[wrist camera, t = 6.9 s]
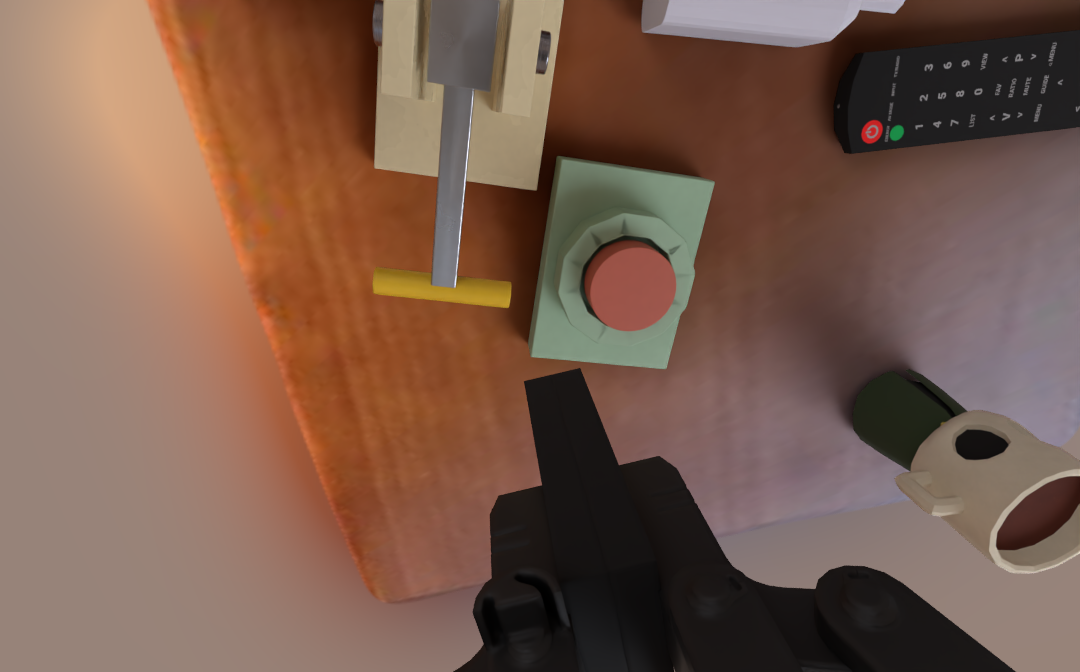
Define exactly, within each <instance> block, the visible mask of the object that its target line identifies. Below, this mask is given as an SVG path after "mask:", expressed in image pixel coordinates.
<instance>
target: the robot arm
mask: <svg viewBox="0 0 1080 672" xmlns="http://www.w3.org/2000/svg"><path fill="white" fill-rule="evenodd" d="M524 384H525V389H526V395H527V401H528V407H529V412H530V418H531V424H532V430H533V435H534V441H535V447H536V453H537V458H538V464H539V470H540V476H541V481H542V486H537V487H533V488H529V489H525V490H521V491H516V492H512V493H508V494H504V495H500V496H498V498H497V500H496V503H495V505H494V507H493V509H492V511H491V513H490V534H491V553H492V554H491V567H492V578H491V579H490V580H489V581H488V582H486V583H485V584H484V586H483V587H482V589H481V591H480V592H479V594H478V595H477V597H476V600H475V604H474V609H473V615H474V618H475V620H476V623H477V626H478V629H479V632H480V634H481V637H482V640H483V643H484V645H483V646H482V648H481V649H480V650H479V652H478V653H477V654H476V655H475V656H474V657H473V658H472V659H471V660H470V661H468V662H467V663H466V664H464V665H463V666H462V667H460V668H459V669H457V670H455V671H454V672H674V669H675V672H1015V671H1014V670H1013V669H1012V668H1010V667H1009V666H1008V665H1006V664H1005V663H1004V662H1002V661H1001V660H1000V659H999V658H998V657H996V656H995V655H994V654H992V653H991V652H990V651H988V650H987V649H986V648H985V647H983V646H982V645H981V644H979V643H978V642H977V641H976V640H974V639H973V638H972V637H971V636H969V635H968V634H967V633H966V632H964V631H963V630H962V629H960V628H959V627H958V626H956V625H955V624H954V623H953V622H952V621H950V620H949V619H948V618H946V617H945V616H944V615H943V614H941V613H940V612H939V611H937V610H936V609H935V608H933V607H932V606H931V605H930V604H929V603H927V602H926V601H925V600H923V599H922V598H921V597H920V596H918V595H917V594H916V593H914V592H913V591H912V590H911V589H909V588H908V587H907V586H905V585H904V584H903V583H901V582H900V581H898V580H896V579H895V578H893V577H891V576H890V575H888V574H886V573H884V572H881V571H878V570H874V569H871V568H868V567H865V566H842V567H839V568H835V569H831V570H829V571H828V572H827V573H825V574H824V575H823V576H822V577H821V578H820V579H818V583H817V586H816V589H802V588H783V587H775V586H769V585H765V584H762V583H759V582H756V581H754V580H752V579H750V578H748V577H746V576H745V575H744V574H743V573H742V572H741V571H739V570H737V569H735V568H734V567H733V566H732V565H731V563H730V562H729V561H728V559H727V558H726V556H725V555H724V553H723V551H722V549H721V547H720V546H719V544H718V542H717V540H716V538H715V537H714V535H713V533H712V531H711V529H710V528H709V526H708V524H707V522H706V520H705V519H704V517H703V515H702V513H701V511H700V510H699V508H698V506H697V504H696V503H695V502H694V499H693V497H692V495H691V493H690V492H689V490H688V489H687V487H686V484H685V483H684V481H683V479H682V477H681V475H680V474H679V472H678V470H677V468H675V467H674V466H673V465H671V464H670V463H668V462H667V461H666V460H664V459H663V458H661V457H660V456H657V457H652V458H648V459H644V460H640V461H636V462H631V463H627V464H623V465H618V462H617V460H616V457H615V455H614V452H613V449H612V447H611V444H610V442H609V439H608V437H607V434H606V432H605V429H604V427H603V424H602V422H601V419H600V417H599V414H598V412H597V409H596V407H595V404H594V402H593V399H592V397H591V394H590V392H589V389H588V387H587V384H586V382H585V379H584V377H583V374H582V372H581V369H580V368H579V369H574V370H570V371H566V372H562V373H557V374H553V375H549V376H544V377H540V378H536V379H532V380H527V381H524ZM673 666H674V668H673Z"/></svg>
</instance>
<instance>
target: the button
mask: <svg viewBox="0 0 1080 672" xmlns="http://www.w3.org/2000/svg"><path fill="white" fill-rule="evenodd" d="M584 289H585V294H586V297H587V300H588V302H589V303H590V305H591V307H592V309H593V310H594V312H595V314H596V315H597V317H598V318H599V319H600V320H601V321H602V322H603V323H604V324H606V325H607V326H609V327H611V328H613V329H616V330H620V331H637V330H642V329H645V328H647V327H649V326H651V325H653V324H655V323H656V322H657V321H659V320H660V319H661V318H662V317H663V316H664V315H665V314H666V313H667V311H668V310H669V308H670V307H671V305H672V303H673V300H674V297H675V293H676V277H675V273H674V270H673V268H672V266H671V264H670V263H669V262H668V260H667V259H666V258H665V257H664V256H663V255H661V254H660V253H659V252H658V251H656V250H655V249H654V248H652V247H651V246H650V245H648V244H646V243H643V242H640V241H636V240H623V241H618V242H615V243H612V244H610V245H608V246H606V247H605V248H603V249H602V250H601V251H600V252H598V253H597V254H596V256H595V257H594V258H593V259H592V261H591V262H590V264H589V266H588V268H587V271H586V274H585V280H584Z"/></svg>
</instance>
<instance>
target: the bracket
mask: <svg viewBox="0 0 1080 672" xmlns="http://www.w3.org/2000/svg"><path fill="white" fill-rule="evenodd" d="M563 4H564V0H500V10H499V19H498V28H497V37H496V46H495V55H494V64H493V73H492V83H491V91H490V92H484V91H478V90H475V95H474V105H473V116H472V126H471V137H470V147H469V157H468V168H467V178H466V181H470V182H477V183H484V184H491V185H498V186H505V187H513V188H520V189H527V190H534V191H536V190H537V185H538V178H539V171H540V164H541V157H542V150H543V143H544V136H545V129H546V122H547V115H548V108H549V101H550V94H551V87H552V80H553V73H554V67H555V60H556V53H557V46H558V39H559V32H560V25H561V18H562V11H563ZM430 6H431V0H376V1H375V4H374V9H373V39H374V43H375V45H376V46H378V70H377V98H376V126H375V154H374V168H377V169H384V170H391V171H399V172H406V173H413V174H420V175H427V176H434V177H438V168H439V153H440V138H441V123H442V108H443V93H444V85H442V84H436V83H430V82H427V66H428V46H429V26H430Z"/></svg>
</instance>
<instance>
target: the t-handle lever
mask: <svg viewBox="0 0 1080 672" xmlns="http://www.w3.org/2000/svg"><path fill="white" fill-rule="evenodd" d="M499 10H500V0H431V6H430V26H429V46H428V66H427V82H430V83H436V84H442V85H444V93H443V108H442V123H441V138H440V153H439V168H438V183H437V198H436V213H435V228H434V243H433V258H432V273H427V272H418V271H409V270H401V269H392V268H383V267H376V268H375V270H374V275H373V293H374V294H379V295H389V296H398V297H408V298H417V299H427V300H436V301H446V302H455V303H465V304H474V305H484V306H493V307H502V308H508V307H509V304H510V298H511V282H507V281H498V280H489V279H480V278H471V277H462V276H457V273H458V262H459V252H460V241H461V231H462V220H463V210H464V199H465V189H466V178H467V168H468V157H469V147H470V137H471V126H472V116H473V105H474V95H475V90H478V91H484V92H490V91H491V83H492V73H493V64H494V55H495V46H496V37H497V28H498V19H499Z"/></svg>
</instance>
